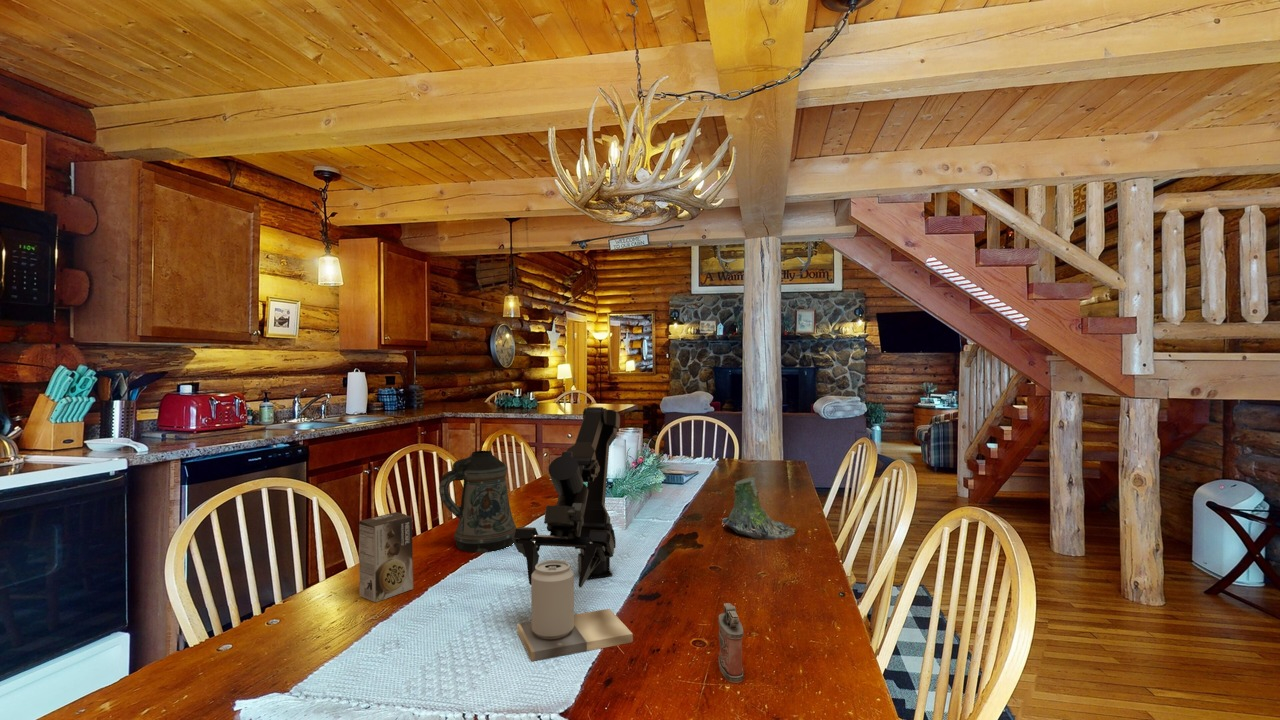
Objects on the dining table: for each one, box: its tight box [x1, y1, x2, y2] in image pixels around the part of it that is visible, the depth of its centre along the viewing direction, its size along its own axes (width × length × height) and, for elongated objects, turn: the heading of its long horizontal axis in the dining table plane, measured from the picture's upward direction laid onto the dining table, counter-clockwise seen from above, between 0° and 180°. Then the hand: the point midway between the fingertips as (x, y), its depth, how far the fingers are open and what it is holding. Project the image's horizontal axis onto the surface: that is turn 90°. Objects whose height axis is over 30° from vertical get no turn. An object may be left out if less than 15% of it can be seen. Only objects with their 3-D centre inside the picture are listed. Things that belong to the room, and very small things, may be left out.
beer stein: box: [438, 450, 518, 554], centre depth 168 cm, size 16×19×25 cm
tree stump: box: [722, 476, 796, 541], centre depth 181 cm, size 18×20×18 cm
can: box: [530, 559, 575, 639], centre depth 111 cm, size 8×8×12 cm
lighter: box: [718, 602, 744, 683], centre depth 101 cm, size 8×3×10 cm, turn 5°
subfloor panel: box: [516, 608, 634, 662], centre depth 112 cm, size 18×12×2 cm, turn 113°
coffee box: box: [358, 511, 414, 603], centre depth 134 cm, size 9×6×16 cm
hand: (555, 585), depth 113 cm, fingers open, 9 cm apart
